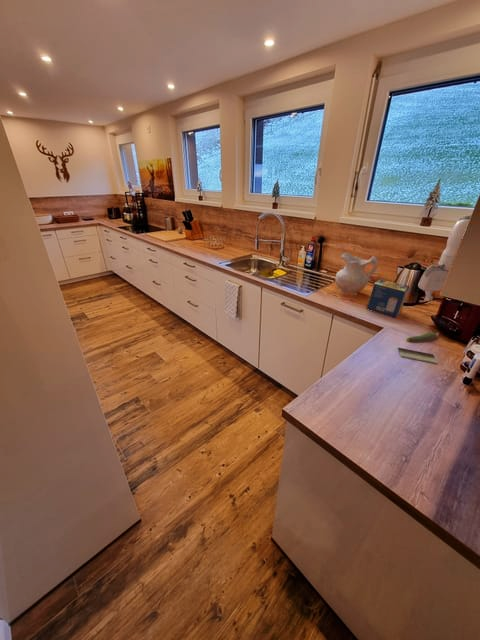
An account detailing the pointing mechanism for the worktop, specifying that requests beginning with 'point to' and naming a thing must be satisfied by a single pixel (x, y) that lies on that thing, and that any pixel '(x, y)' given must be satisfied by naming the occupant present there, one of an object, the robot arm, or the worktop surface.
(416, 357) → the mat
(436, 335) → the vegetable
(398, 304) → the protein box
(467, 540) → the worktop surface
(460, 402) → the worktop surface
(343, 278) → the ceramic pitcher
